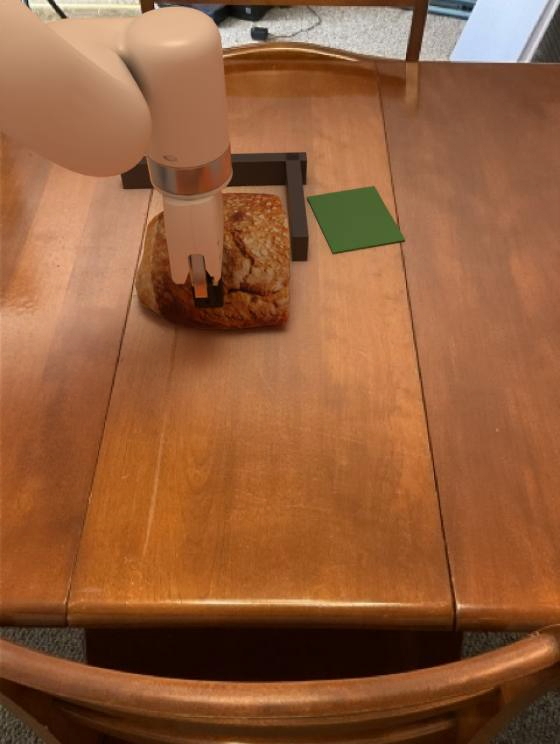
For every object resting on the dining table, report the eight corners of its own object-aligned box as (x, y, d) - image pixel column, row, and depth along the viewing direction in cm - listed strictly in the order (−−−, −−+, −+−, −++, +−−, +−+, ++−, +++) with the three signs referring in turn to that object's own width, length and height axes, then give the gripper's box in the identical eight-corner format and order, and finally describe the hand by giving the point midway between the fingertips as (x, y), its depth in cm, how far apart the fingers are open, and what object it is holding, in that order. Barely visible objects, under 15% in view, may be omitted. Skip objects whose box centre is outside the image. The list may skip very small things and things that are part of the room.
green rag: (332, 254, 88) (332, 252, 88) (306, 198, 95) (306, 196, 95) (404, 241, 90) (405, 239, 89) (374, 187, 97) (374, 185, 97)
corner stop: (111, 266, 86) (105, 242, 83) (124, 180, 98) (119, 156, 94) (315, 260, 87) (316, 236, 84) (305, 176, 98) (306, 151, 95)
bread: (290, 335, 79) (292, 272, 71) (133, 337, 79) (118, 274, 71) (285, 222, 92) (286, 158, 84) (150, 223, 92) (138, 159, 84)
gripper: (154, 116, 66) (179, 257, 80) (139, 216, 56) (171, 356, 71) (232, 113, 66) (243, 255, 80) (230, 213, 56) (243, 353, 71)
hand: (209, 302), depth 75 cm, fingers closed
